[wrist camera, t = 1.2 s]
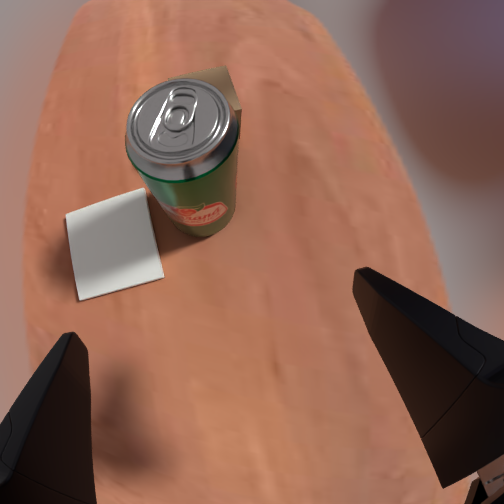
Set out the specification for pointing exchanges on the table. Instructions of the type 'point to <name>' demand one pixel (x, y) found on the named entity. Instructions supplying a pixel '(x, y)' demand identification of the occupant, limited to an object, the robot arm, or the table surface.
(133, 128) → the soda can
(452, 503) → the table surface
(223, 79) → the letter cube
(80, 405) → the robot arm
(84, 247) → the coaster
